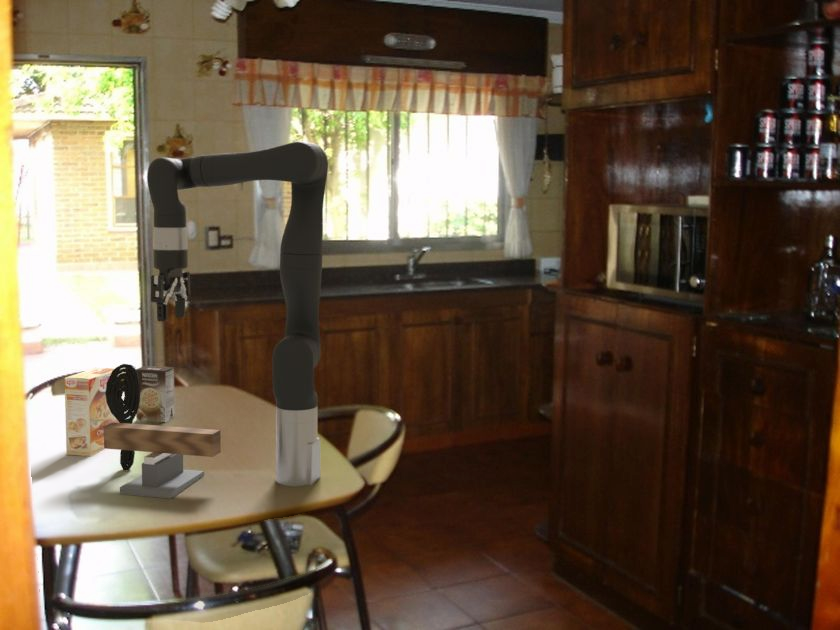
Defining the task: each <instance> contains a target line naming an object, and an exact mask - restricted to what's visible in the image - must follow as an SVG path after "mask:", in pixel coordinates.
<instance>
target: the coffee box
mask: <svg viewBox="0 0 840 630" xmlns="http://www.w3.org/2000/svg"><path fill="white" fill-rule="evenodd" d="M135 369H136V370H138V375H140V376H139V380H140V388H141V389H140V403H139V407H138V412H137V413H138V414H136V416H135V420H136V422H139V423H140V422H141V423H159V422H166V423H167V422H169V421H170V419H171V420H172V419H174V418H175V367H173V366H172V367H171V366H170V367H169V366H159V365H158V366H156V365H144V366H140V367H138V368H135ZM141 385H142V386H141ZM141 394H142V396H141ZM141 398H142V399H141ZM173 417H174V418H173ZM168 420H169V421H168Z"/></svg>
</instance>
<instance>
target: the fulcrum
mask: <svg viewBox="0 0 840 630" xmlns="http://www.w3.org/2000/svg"><path fill="white" fill-rule="evenodd" d="M202 476H203V477H204V476H205V471H204V470H197V469H196V470H194V469H185V468H184V455H181V454H168V453H156V452H150V453H149V454H147V455H145V456H144V457H143V462H142V463H141V475H139V476H138V477H136V478H134V479H132V480H130V481H128V482H127V483H125V484H123V485H121V486H119V495H124V496H125V495H128V496H130V495H131V496H138V497H139V496H140V497H148V498H149V497H151V498H160V499H173V498H174V497H176V496H177V495H179V494H180V493H182V492H183V491H184V490H186V489H188V488H189V487H190V486H191V485H193V484H195V483H196V482H197V481H199V480H200V479H201V478H203V477H202ZM199 478H200V479H199ZM195 481H196V482H195ZM192 483H193V484H192ZM188 486H189V487H188ZM185 488H186V489H185ZM181 491H182V492H181ZM178 493H179V494H178ZM176 494H177V495H176ZM175 495H176V496H175ZM172 497H173V498H172Z"/></svg>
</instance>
